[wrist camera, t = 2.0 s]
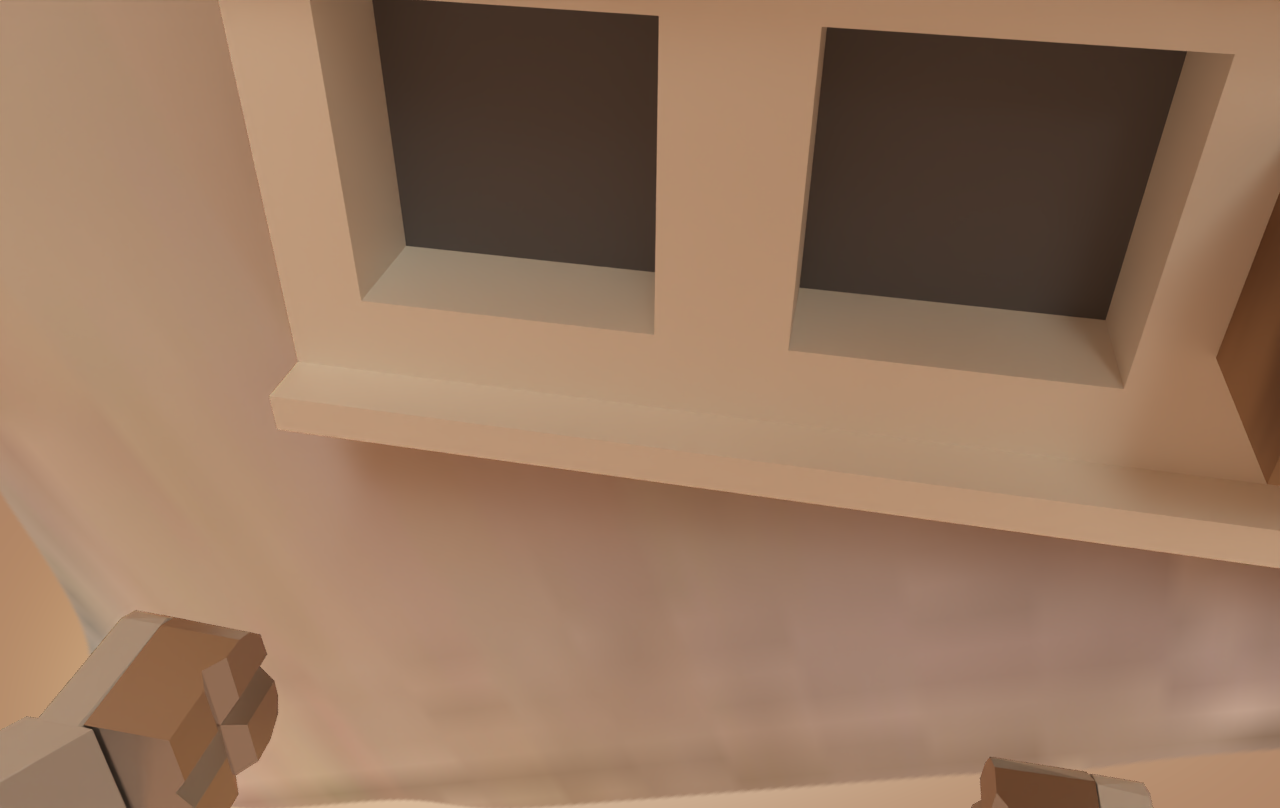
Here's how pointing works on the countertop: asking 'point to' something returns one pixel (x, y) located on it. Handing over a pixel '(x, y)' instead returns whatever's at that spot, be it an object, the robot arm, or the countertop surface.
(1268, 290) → the walnut block
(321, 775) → the countertop surface
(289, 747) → the countertop surface
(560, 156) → the trap track
